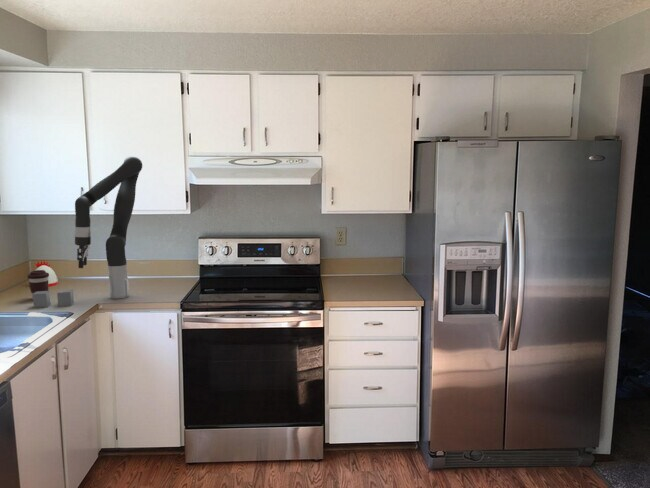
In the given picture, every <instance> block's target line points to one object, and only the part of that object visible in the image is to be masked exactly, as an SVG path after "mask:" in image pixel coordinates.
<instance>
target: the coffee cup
mask: <svg viewBox="0 0 650 488" xmlns="http://www.w3.org/2000/svg"><path fill="white" fill-rule="evenodd" d="M35 270H36V269H35ZM35 270H32V271H30V273H29V274H27V275H26V276H27V279H28V280H29V281H28V283H29V288H30V293H31V298H32V300H33V294H34V293H35V292H37V291H49V287H48V276H49V273H46V271H45V270H36V271H35Z"/></svg>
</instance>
